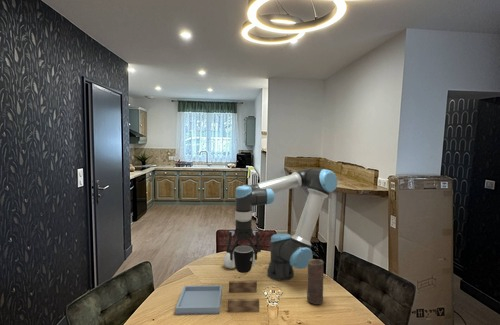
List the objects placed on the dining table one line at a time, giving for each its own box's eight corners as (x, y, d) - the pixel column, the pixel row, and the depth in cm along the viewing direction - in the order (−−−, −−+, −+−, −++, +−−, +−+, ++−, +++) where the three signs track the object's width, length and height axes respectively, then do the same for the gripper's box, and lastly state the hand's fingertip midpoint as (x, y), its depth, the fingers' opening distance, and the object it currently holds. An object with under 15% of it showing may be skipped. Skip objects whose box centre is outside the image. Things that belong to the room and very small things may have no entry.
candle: (319, 308, 124) (320, 265, 123) (304, 303, 128) (305, 261, 127) (324, 300, 130) (325, 259, 129) (310, 295, 134) (310, 256, 133)
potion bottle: (226, 274, 159) (232, 266, 174) (240, 265, 158) (244, 257, 173) (218, 260, 161) (224, 253, 175) (231, 251, 160) (236, 245, 175)
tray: (222, 290, 138) (222, 285, 138) (219, 313, 119) (219, 307, 119) (184, 291, 137) (184, 285, 137) (175, 314, 118) (175, 308, 118)
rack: (256, 290, 139) (256, 281, 138) (259, 311, 121) (259, 300, 121) (228, 291, 138) (228, 281, 138) (227, 312, 121) (227, 301, 120)
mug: (252, 275, 122) (252, 253, 122) (232, 274, 123) (232, 252, 123) (254, 263, 134) (254, 243, 134) (236, 262, 135) (236, 242, 135)
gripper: (265, 217, 131) (265, 262, 133) (220, 217, 130) (221, 263, 132) (267, 221, 124) (267, 269, 125) (219, 222, 123) (220, 270, 124)
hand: (243, 266), depth 129 cm, fingers closed on mug, 9 cm apart
